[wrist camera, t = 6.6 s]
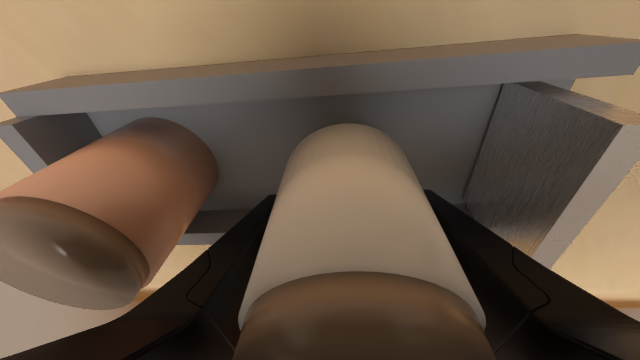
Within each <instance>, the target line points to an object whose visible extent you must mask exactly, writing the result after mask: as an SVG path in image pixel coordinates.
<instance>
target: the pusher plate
mask: <svg viewBox="0 0 640 360" xmlns="http://www.w3.org/2000/svg"><path fill="white" fill-rule="evenodd" d="M639 158H640V114H639V113H636V112H633V111H630V110H627V109H624V108H621V107H618V106H615V105H612V104H609V103H606V102H603V101H600V100H596V99H593V98H590V97H587V96H584V95H581V94H578V93H575V92H572V91H569V90H566V89H563V88H560V87H557V86H554V85H551V84H548V83H545V82H542V81H531V82H517V83H504V86H503V88H502V91H501V94H500V97H499V100H498V103H497V105H496V108H495V111H494V114H493V117H492V120H491V122H490V125H489V128H488V131H487V134H486V137H485V139H484V142H483V145H482V148H481V151H480V154H479V156H478V159H477V162H476V165H475V168H474V171H473V174H472V176H471V179H470V182H469V185H468V188H467V191H466V193H465V196H464V199H463V203H464V204H465V206H466V207H467V208H468V210H469V211H470V213H471V214H472V216H473V217H474V219H475V220H476V221H478V222H479V223H480V224H482V225H483V226H485V227H486V228H488V229H489V230H491V231H492V232H494V233H495V234H497V235H498V236H500V237H501V238H503V239H504V240H506V241H507V242H509V243H510V244H512V247H513V246H514V247H516V248H518V249H519V250H521V251H522V252H523V253H525V254H526V255H528V256H530V257H531V258H533V259H534V260H536V261H537V262H539V263H540V264H542V265H543V266H545V267H547V268H548V269H550V268H551V267H552V266H553V265H554V264H555V262H556V261H557V260H558V259H559V257H560V256H561V255H562V254H563V252H564V251H565V250H566V249H567V247H568V246H569V245H570V244H571V242H572V241H573V240H574V239H575V238H576V236H577V235H578V234H579V233H580V231H581V230H582V229H583V228H584V226H585V225H586V224H587V223H588V221H589V220H590V219H591V218H592V217H593V215H594V214H595V213H596V212H597V210H598V209H599V208H600V207H601V205H602V204H603V203H604V202H605V200H606V199H607V198H608V197H609V195H610V194H611V193H612V192H613V191H614V189H615V188H616V187H617V186H618V184H619V183H620V182H621V181H622V179H623V178H624V177H625V176H626V174H627V173H628V172H629V171H630V170H631V168H632V167H633V166H634V165H635V163H636V162H637V161H638V160H639Z"/></svg>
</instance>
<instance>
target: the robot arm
mask: <svg viewBox="0 0 640 360" xmlns="http://www.w3.org/2000/svg"><path fill="white" fill-rule="evenodd" d="M423 191H424V193H425V195H426V197H427V199H428V201H429V203H430V205H431V207H432V209H433V211H434V213H435V215H436V217H437V219H438V221H439V223H440V225H441V227H442V229H443V231H444V233H445V235H446V237H447V239H448V241H449V243H450V245H451V247H452V249H453V251H454V253H455V255H456V257H457V259H458V261H459V263H460V265H461V267H462V269H463V271H464V273H465V275H466V277H467V279H468V281H469V283H470V285H471V287H472V289H473V291H474V293H475V295H476V297H477V299H478V301H479V303H480V305H481V307H482V309H483V312H484V314H485V317H486V327H485V331H484V333H485V335H486V338H487V340H488V342H489V344H490V346H491V348H492V350H493V352H494V355H495V357H496V359H497V360H640V322H639V321H637V320H635V319H633V318H631V317H629V316H627V315H626V314H624V313H622V312H620V311H618V310H617V309H615V308H614V307H612V306H610V305H609V304H607V303H605V302H603V301H602V300H600V299H598V298H597V297H595V296H593V295H592V294H590V293H588V292H587V291H585V290H583V289H581V288H580V287H578V286H576V285H575V284H573V283H571V282H570V281H568V280H566V279H565V278H563V277H561V276H560V275H558V274H556V273H555V272H553V271H551V270H550V269H548V268H547V267H545V266H543V265H542V264H540V263H539V262H537V261H536V260H534V259H533V258H531V257H530V256H528V255H526V254H525V253H523V252H522V251H521V250H519V249H518V248H516V247H514V246H513V247H512V244H510V243H509V242H507V241H506V240H504V239H503V238H501V237H500V236H498V235H497V234H495V233H494V232H492V231H491V230H489V229H488V228H486V227H485V226H483V225H482V224H480V223H479V222H478V221H476V220H475V219H473V218H472V217H470V216H469V215H467V214H466V213H464V212H463V211H461V210H460V209H458V208H457V207H455V206H454V205H452V204H451V203H449V202H448V201H446V200H445V199H444V198H442V197H441V196H439V195H438V194H436V193H435V192H433V191H432V190H430V189H423ZM276 195H277V194H270V195H268V196H267V197H266V198H264V199H263V200H262V201H261V202H260V203H259V204H258V205H257V206H255V207H254V208H253V209H252V210H251V211H250V212H249V213H248V214H246V215H245V216H244V217H243V218H242V219H241V220H240V221H239V222H237V223H236V224H235V225H234V226H233V227H232V228H231V229H230V230H228V231H227V232H226V233H225V234H224V235H223V236H222V237H221V238H219V239H218V240H217V241H216V242H215V243H214V244H213V245H212V246H211V247H209V248H208V250H206V251H205V252H204V253H203V254H201V255H200V256H199V257H198V258H197V259H196V260H194V261H193V262H192V263H191V264H190V265H189V266H187V267H186V268H185V269H184V270H183V271H181V272H180V273H179V274H177V275H176V276H175V277H174V278H172V279H171V280H170V281H169V282H167V283H166V284H165V285H163V286H162V287H161V288H159V289H158V290H157V291H155V292H154V293H153V294H152V295H150V296H149V297H148V298H146V299H145V300H144V301H142V302H141V303H140V304H139V305H137V306H136V307H135V308H133V309H132V310H131V311H129V312H127V313H126V314H124V315H123V316H121V317H119V318H117V319H115V320H113V321H111V322H108V323H106V324H103V325H101V326H97V327H95V328H91V329H88V330H86V331H83V332H80V333H77V334H74V335H71V336H68V337H65V338H62V339H59V340H56V341H53V342H50V343H47V344H44V345H41V346H38V347H35V348H32V349H29V350H26V351H23V352H20V353H17V354H14V355H12V356H8V357H5V358H1V359H0V360H233V356H234V353H235V349H236V346H237V342H238V339H239V336H240V332H241V330H240V328H239V322H238V317H239V311H240V308H241V305H242V302H243V299H244V296H245V293H246V289H247V286H248V283H249V280H250V277H251V274H252V271H253V267H254V264H255V261H256V258H257V255H258V252H259V249H260V246H261V242H262V239H263V236H264V233H265V230H266V227H267V224H268V220H269V217H270V214H271V211H272V208H273V205H274V202H275V199H276Z"/></svg>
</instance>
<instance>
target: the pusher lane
mask: <svg viewBox="0 0 640 360" xmlns="http://www.w3.org/2000/svg"><path fill="white" fill-rule="evenodd" d="M639 65H640V40H639V39H627V38H616V37H604V36H592V35H580V34H571V35H560V36H548V37H536V38H524V39H512V40H500V41H488V42H477V43H465V44H453V45H441V46H429V47H417V48H405V49H394V50H382V51H370V52H358V53H346V54H334V55H322V56H311V57H299V58H287V59H275V60H263V61H251V62H239V63H228V64H216V65H204V66H192V67H180V68H168V69H156V70H145V71H133V72H121V73H109V74H97V75H85V76H73V77H64V78H60V79H56V80H51V81H47V82H43V83H39V84H34V85H30V86H26V87H22V88H18V89H13V90H9V91H5V92H1V93H0V98H1V99H2V100H3V101H4V102H5V104H6V105H7V106H8V107H9V108H10V109H11V111H12V112H13V113H14V114H15V115H16V118H13V119H10V120H7V121H4V122H1V123H0V138H1V139H2V140H3V141H4V142H5V143H6V144H7V145H8V147H9V148H10V149H11V150H12V151H13V152H14V153H15V154H16V155H17V156H18V157H19V158H20V159H21V160H22V161H23V162H24V164H25V165H26V166H27V167H28V168H29V169H30V170H31V171H32V172H33V173H36V172H38V171H40V170H41V169H43V168H45V167H47V166H49V165H51V164H53V163H55V162H56V161H58V160H60V159H62V158H64V157H66V156H68V155H70V154H71V153H73V152H75V151H77V150H79V149H81V148H83V147H85V146H86V145H88V144H90V143H92V142H94V141H96V140H98V139H100V138H101V137H103V136H105V135H107V134H109V133H111V132H113V131H115V130H116V129H118V128H120V127H122V126H124V125H126V124H128V123H130V122H132V121H133V120H136V119H139V118H144V117H157V118H163V119H167V120H170V121H173V122H176V123H178V124H180V125H182V126H184V127H185V128H187V129H189V130H190V131H192V132H193V133H194V134H196V135H197V136H198V137H199V138H200V139H201V140H202V141H203V142H204V143H205V144H206V145H207V146H208V147H209V149H210V150H211V152H212V153H213V155H214V157H215V159H216V161H217V165H218V169H219V179H218V183H217V185H216V187H215V189H214V190H213V191H212V193H211V194H210V196H209V197H208V199H207V200H206V202H205V203H204V205H203V206H202V208H201V209H200V210H199V212H198V213H197V215H196V216H195V218H194V219H193V221H192V222H191V224H190V225H189V227H188V228H187V230H186V231H185V232H184V234H183V235H182V237H181V238H180V240H179V241H178V243H177V244H176V245H200V244H214V243H215V242H216V241H217V240H218V239H219V238H221V237H222V236H223V235H224V234H225V233H226V232H227V231H228V230H230V229H231V228H232V227H233V226H234V225H235V224H236V223H237V222H239V221H240V220H241V219H242V218H243V217H244V216H245V215H246V214H248V213H249V212H250V211H251V210H252V209H253V208H254V207H255V206H257V205H258V204H259V203H260V202H261V201H262V200H263V199H264V198H266V197H267V196H268V195H270V194H277V192H278V189H279V186H280V183H281V180H282V177H283V174H284V170H285V167H286V164H287V161H288V159H289V157H290V155H291V153H292V151H293V150H294V149H295V147H296V146H297V145H298V144H299V143H300V142H301V141H302V140H303V139H304V138H306V137H307V136H308V135H310V134H311V133H313V132H315V131H317V130H319V129H322V128H324V127H327V126H331V125H336V124H344V123H354V124H362V125H366V126H370V127H373V128H376V129H378V130H381V131H382V132H384V133H386V134H387V135H389V136H390V137H391V138H393V139H394V140H395V141H396V142H397V143H398V144H399V145H400V147H401V148H402V150H403V151H404V153H405V155H406V157H407V159H408V161H409V163H410V165H411V167H412V169H413V171H414V173H415V175H416V177H417V179H418V181H419V183H420V185H421V187H422V189H430V190H432V191H433V192H435V193H436V194H438V195H439V196H441V197H442V198H444V199H445V200H446V201H448V202H449V203H451V204H452V205H454V206H455V207H457V208H458V209H460V210H461V211H463V212H464V213H466V214H467V215H469V216H470V217H472V218H473V219H474V217H473V216H472V214H471V213H470V211H469V210H468V208H467V207H466V206H465V204H464V203H463V199H464V196H465V193H466V191H467V188H468V185H469V182H470V179H471V176H472V174H473V171H474V168H475V165H476V162H477V159H478V156H479V154H480V151H481V148H482V145H483V142H484V139H485V137H486V134H487V131H488V128H489V125H490V122H491V120H492V117H493V114H494V111H495V108H496V105H497V103H498V100H499V97H500V94H501V91H502V88H503V86H504V83H517V82H531V81H542V82H545V83H548V84H551V85H554V86H557V87H560V88H563V89H566V90H569V91H570V89H571V87H572V85H573V83H574V81H575V79H576V78H589V77H604V76H618V75H633V74H634V73H635V71H636V70H637V68H638V66H639Z"/></svg>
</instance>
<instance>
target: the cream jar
mask: <svg viewBox="0 0 640 360" xmlns="http://www.w3.org/2000/svg"><path fill="white" fill-rule="evenodd" d="M238 322H239V328H240V330H241V332H240V336H239V339H238V342H237V346H236V349H235V353H234V356H233V360H497V359H496V357H495V355H494V352H493V350H492V348H491V346H490V344H489V342H488V340H487V338H486V335H485V333H484V331H485V327H486V317H485V314H484V312H483V309H482V307H481V305H480V303H479V301H478V299H477V297H476V295H475V293H474V291H473V289H472V287H471V285H470V283H469V281H468V279H467V277H466V275H465V273H464V271H463V269H462V267H461V265H460V263H459V261H458V259H457V257H456V255H455V253H454V251H453V249H452V247H451V245H450V243H449V241H448V239H447V237H446V235H445V233H444V231H443V229H442V227H441V225H440V223H439V221H438V219H437V217H436V215H435V213H434V211H433V209H432V207H431V205H430V203H429V201H428V199H427V197H426V195H425V193H424V191H423V189H422V187H421V185H420V183H419V181H418V179H417V177H416V175H415V173H414V171H413V169H412V167H411V165H410V163H409V161H408V159H407V157H406V155H405V153H404V151H403V150H402V148H401V147H400V145H399V144H398V143H397V142H396V141H395V140H394V139H393V138H391V137H390V136H389V135H387V134H386V133H384V132H382V131H381V130H378V129H376V128H373V127H370V126H366V125H362V124H354V123H344V124H336V125H331V126H327V127H324V128H322V129H319V130H317V131H315V132H313V133H311V134H310V135H308V136H307V137H306V138H304V139H303V140H302V141H301V142H300V143H299V144H298V145H297V146H296V147H295V149H294V150H293V151H292V153H291V155H290V157H289V159H288V161H287V164H286V167H285V170H284V174H283V177H282V180H281V183H280V186H279V189H278V192H277V195H276V199H275V202H274V205H273V208H272V211H271V214H270V217H269V220H268V224H267V227H266V230H265V233H264V236H263V239H262V242H261V246H260V249H259V252H258V255H257V258H256V261H255V264H254V267H253V271H252V274H251V277H250V280H249V283H248V286H247V289H246V293H245V296H244V299H243V302H242V305H241V308H240V311H239V317H238Z"/></svg>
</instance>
